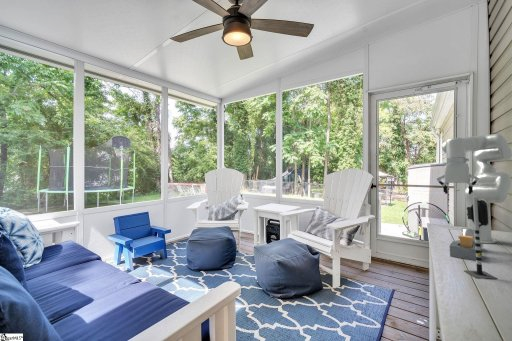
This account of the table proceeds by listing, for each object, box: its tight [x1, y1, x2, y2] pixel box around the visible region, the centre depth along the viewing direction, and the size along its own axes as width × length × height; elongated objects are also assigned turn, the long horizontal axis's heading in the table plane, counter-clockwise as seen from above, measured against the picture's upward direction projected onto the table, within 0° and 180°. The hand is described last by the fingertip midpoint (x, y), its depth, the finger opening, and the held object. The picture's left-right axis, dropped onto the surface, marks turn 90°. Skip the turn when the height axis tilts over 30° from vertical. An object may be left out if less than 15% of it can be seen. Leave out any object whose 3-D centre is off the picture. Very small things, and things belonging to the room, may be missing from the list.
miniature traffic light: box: [463, 197, 498, 280], centre depth 93 cm, size 8×8×30 cm
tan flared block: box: [458, 234, 473, 247], centre depth 114 cm, size 4×5×9 cm
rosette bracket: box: [449, 227, 484, 261], centre depth 119 cm, size 26×11×10 cm, turn 134°
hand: (457, 193), depth 127 cm, fingers open, 9 cm apart
